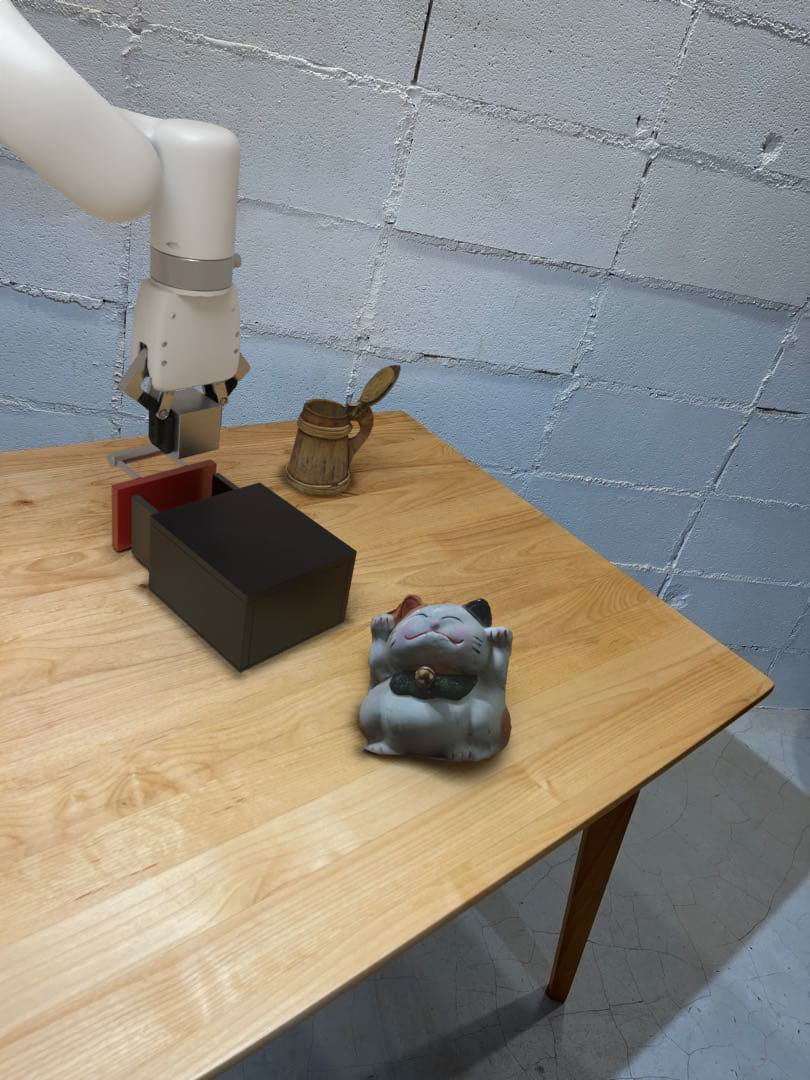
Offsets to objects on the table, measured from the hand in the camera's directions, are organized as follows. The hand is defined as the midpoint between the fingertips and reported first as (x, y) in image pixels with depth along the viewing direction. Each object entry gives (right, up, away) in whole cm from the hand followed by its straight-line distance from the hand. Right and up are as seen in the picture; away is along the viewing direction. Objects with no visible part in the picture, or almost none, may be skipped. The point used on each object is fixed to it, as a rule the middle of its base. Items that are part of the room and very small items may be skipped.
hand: (185, 440), depth 86 cm
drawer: (-2, -11, +7) cm, 13 cm away
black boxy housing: (+6, -18, +1) cm, 19 cm away
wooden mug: (+13, -3, +28) cm, 31 cm away
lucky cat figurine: (+25, -28, -8) cm, 38 cm away
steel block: (0, 0, 0) cm, 0 cm away
